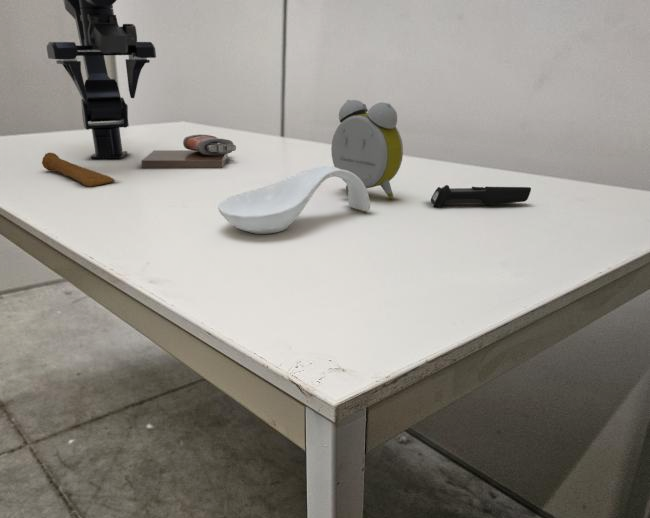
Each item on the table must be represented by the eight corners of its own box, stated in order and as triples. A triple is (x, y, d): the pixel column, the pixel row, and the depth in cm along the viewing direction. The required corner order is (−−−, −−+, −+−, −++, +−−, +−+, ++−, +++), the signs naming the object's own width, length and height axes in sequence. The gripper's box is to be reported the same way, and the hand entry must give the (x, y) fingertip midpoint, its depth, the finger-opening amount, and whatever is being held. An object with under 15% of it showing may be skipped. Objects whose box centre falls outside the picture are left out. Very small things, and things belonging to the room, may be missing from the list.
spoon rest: (247, 247, 78) (244, 190, 75) (204, 226, 87) (200, 174, 84) (385, 217, 91) (387, 168, 88) (336, 201, 100) (337, 156, 97)
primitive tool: (116, 182, 112) (113, 162, 110) (89, 187, 108) (85, 167, 107) (59, 169, 123) (56, 151, 121) (33, 173, 119) (29, 155, 118)
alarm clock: (402, 198, 102) (408, 102, 95) (376, 206, 97) (380, 105, 91) (349, 187, 109) (351, 97, 103) (322, 194, 105) (323, 100, 98)
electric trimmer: (531, 209, 97) (535, 189, 96) (434, 208, 96) (436, 187, 95) (524, 203, 100) (527, 183, 99) (429, 202, 100) (431, 182, 98)
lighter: (183, 151, 132) (205, 158, 125) (182, 134, 131) (205, 140, 123) (216, 149, 137) (240, 156, 130) (216, 134, 135) (240, 139, 128)
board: (154, 157, 135) (153, 150, 134) (228, 157, 136) (227, 150, 135) (142, 168, 124) (141, 160, 123) (222, 167, 125) (221, 160, 124)
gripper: (54, 6, 102) (71, 105, 108) (162, 8, 112) (171, 100, 118) (38, 8, 110) (54, 100, 117) (140, 10, 120) (149, 95, 126)
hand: (109, 99), depth 119 cm, fingers open, 9 cm apart
